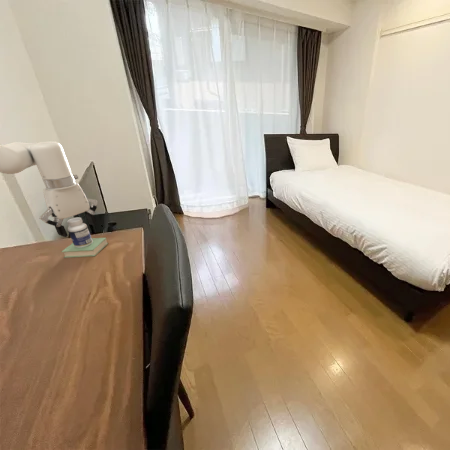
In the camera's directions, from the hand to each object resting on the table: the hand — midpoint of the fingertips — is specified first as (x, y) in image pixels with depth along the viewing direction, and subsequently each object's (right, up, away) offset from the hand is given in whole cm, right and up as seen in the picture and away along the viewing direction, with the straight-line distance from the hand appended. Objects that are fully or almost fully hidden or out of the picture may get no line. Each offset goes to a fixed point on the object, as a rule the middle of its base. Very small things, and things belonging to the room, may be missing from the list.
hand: (79, 230), depth 94 cm
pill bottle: (0, -5, +3) cm, 6 cm away
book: (0, -7, +4) cm, 8 cm away
